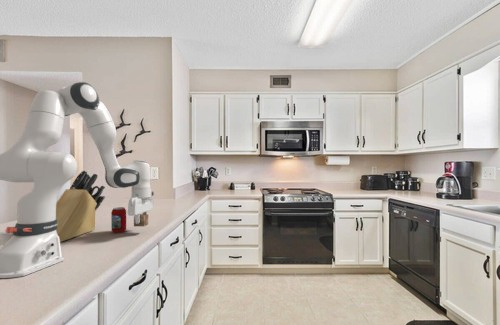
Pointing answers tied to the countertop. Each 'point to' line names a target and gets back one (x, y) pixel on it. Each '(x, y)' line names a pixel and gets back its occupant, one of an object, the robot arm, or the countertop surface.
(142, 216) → the walnut block
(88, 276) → the countertop surface
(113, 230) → the beverage can
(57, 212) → the knife block
